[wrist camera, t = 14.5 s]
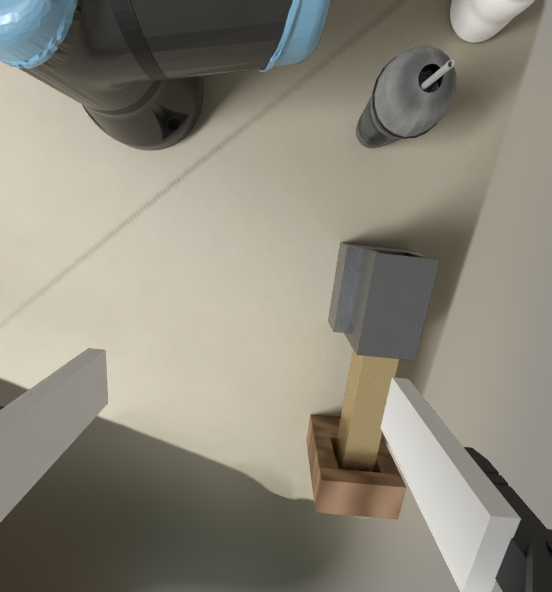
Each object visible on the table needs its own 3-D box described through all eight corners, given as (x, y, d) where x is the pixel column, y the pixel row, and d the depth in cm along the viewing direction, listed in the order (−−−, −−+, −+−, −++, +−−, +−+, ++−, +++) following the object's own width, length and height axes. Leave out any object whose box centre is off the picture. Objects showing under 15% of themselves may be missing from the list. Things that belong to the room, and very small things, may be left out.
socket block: (306, 441, 52) (315, 512, 40) (310, 414, 51) (321, 480, 38) (368, 446, 52) (397, 519, 40) (374, 420, 51) (406, 487, 39)
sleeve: (328, 320, 46) (344, 353, 35) (340, 242, 43) (362, 252, 32) (391, 327, 47) (427, 361, 36) (408, 249, 44) (453, 261, 32)
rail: (332, 457, 46) (338, 482, 42) (357, 323, 40) (367, 336, 36) (361, 460, 46) (370, 485, 42) (390, 326, 41) (404, 340, 36)
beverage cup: (412, 126, 39) (542, 40, 20) (373, 171, 41) (458, 132, 22) (373, 85, 38) (471, -49, 19) (334, 133, 40) (387, 55, 20)
